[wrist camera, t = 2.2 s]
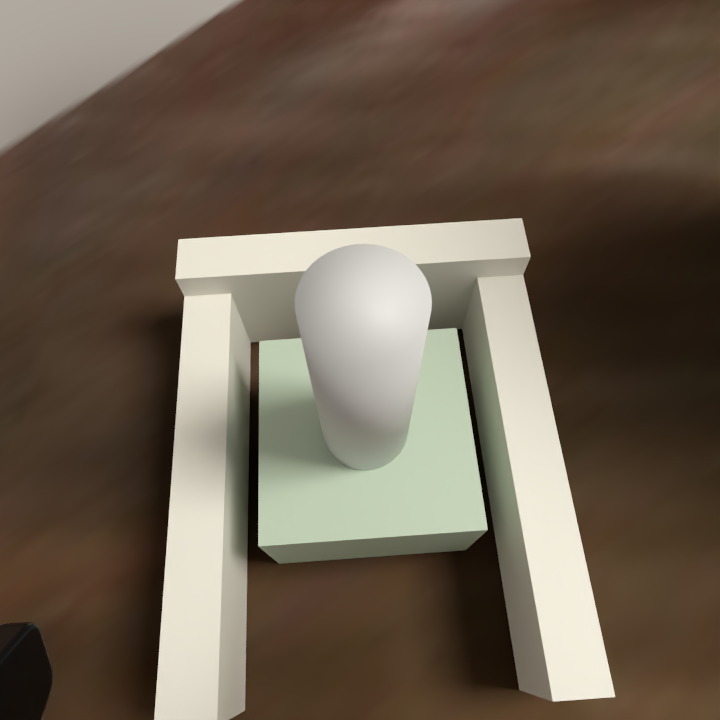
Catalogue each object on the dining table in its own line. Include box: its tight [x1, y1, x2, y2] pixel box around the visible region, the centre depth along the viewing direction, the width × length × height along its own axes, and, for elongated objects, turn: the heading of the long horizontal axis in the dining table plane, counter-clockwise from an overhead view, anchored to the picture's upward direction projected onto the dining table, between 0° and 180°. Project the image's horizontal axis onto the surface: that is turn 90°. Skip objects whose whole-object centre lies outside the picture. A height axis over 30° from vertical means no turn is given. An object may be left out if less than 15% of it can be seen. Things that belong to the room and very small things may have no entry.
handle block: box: [258, 244, 488, 564], centre depth 15 cm, size 6×6×11 cm
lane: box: [154, 218, 615, 720], centre depth 18 cm, size 14×11×4 cm
